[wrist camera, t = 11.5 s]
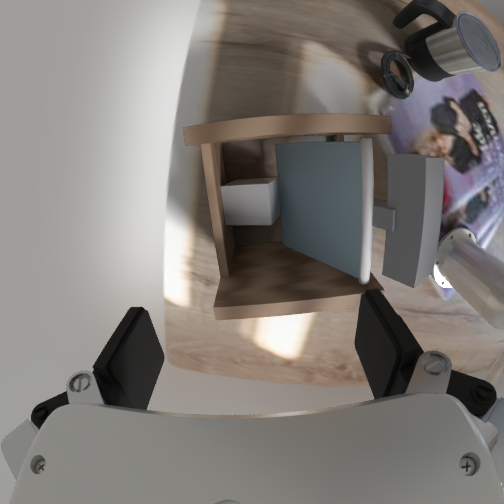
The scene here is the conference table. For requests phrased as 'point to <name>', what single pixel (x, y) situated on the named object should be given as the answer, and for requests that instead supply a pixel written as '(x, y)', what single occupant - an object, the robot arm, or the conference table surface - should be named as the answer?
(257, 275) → the stand
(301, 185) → the trapdoor
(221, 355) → the conference table surface
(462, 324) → the conference table surface
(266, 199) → the grey cube-like block
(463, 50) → the milk frother
